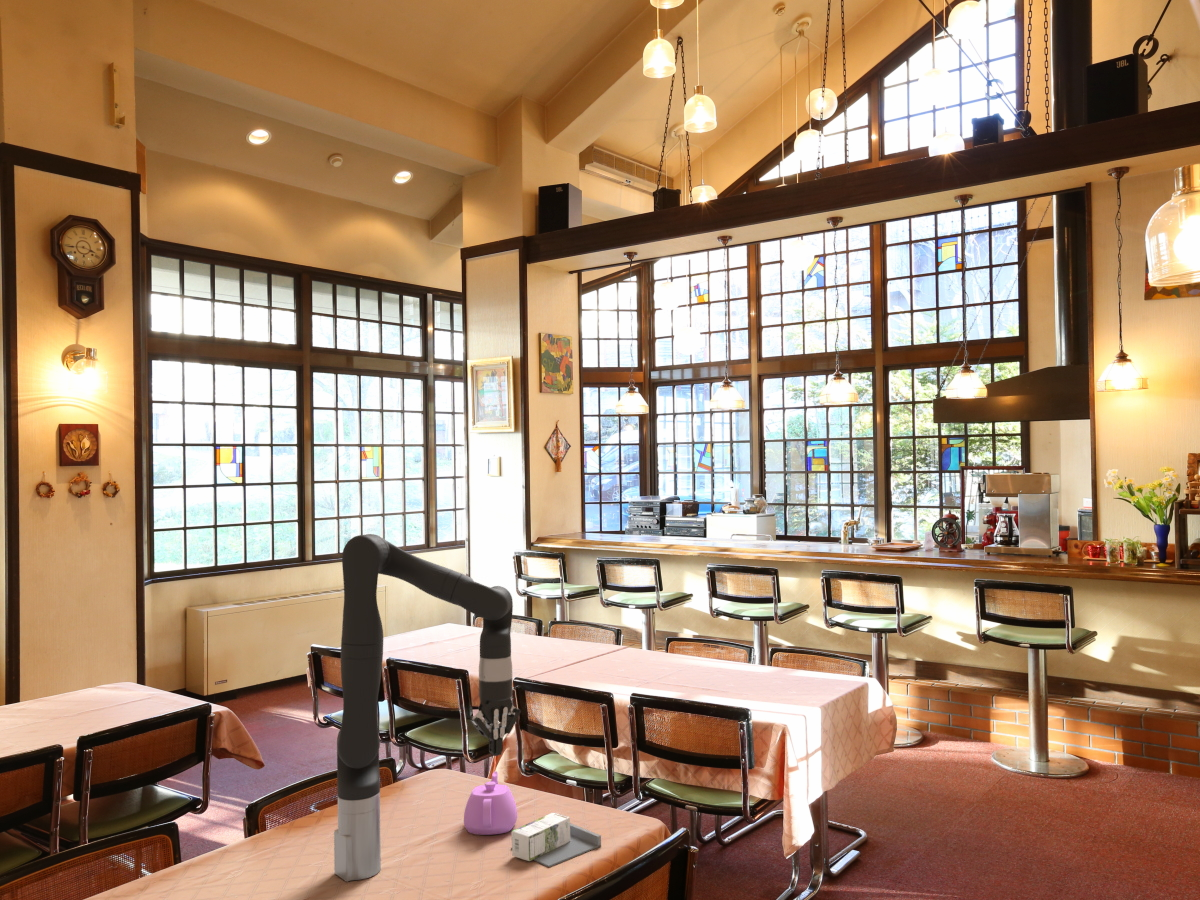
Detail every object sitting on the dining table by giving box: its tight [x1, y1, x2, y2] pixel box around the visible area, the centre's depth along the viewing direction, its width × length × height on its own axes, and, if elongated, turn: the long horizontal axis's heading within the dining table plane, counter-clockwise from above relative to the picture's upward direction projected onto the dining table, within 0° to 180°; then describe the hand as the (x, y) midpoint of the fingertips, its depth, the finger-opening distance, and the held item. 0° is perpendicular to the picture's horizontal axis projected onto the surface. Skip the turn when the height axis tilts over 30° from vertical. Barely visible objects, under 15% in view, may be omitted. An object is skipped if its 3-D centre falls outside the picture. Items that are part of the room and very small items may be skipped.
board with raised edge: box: [510, 822, 602, 868], centre depth 203 cm, size 16×14×2 cm
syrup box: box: [511, 812, 571, 862], centre depth 202 cm, size 6×6×14 cm
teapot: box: [463, 771, 518, 836], centre depth 217 cm, size 13×20×11 cm
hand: (496, 754), depth 193 cm, fingers closed
